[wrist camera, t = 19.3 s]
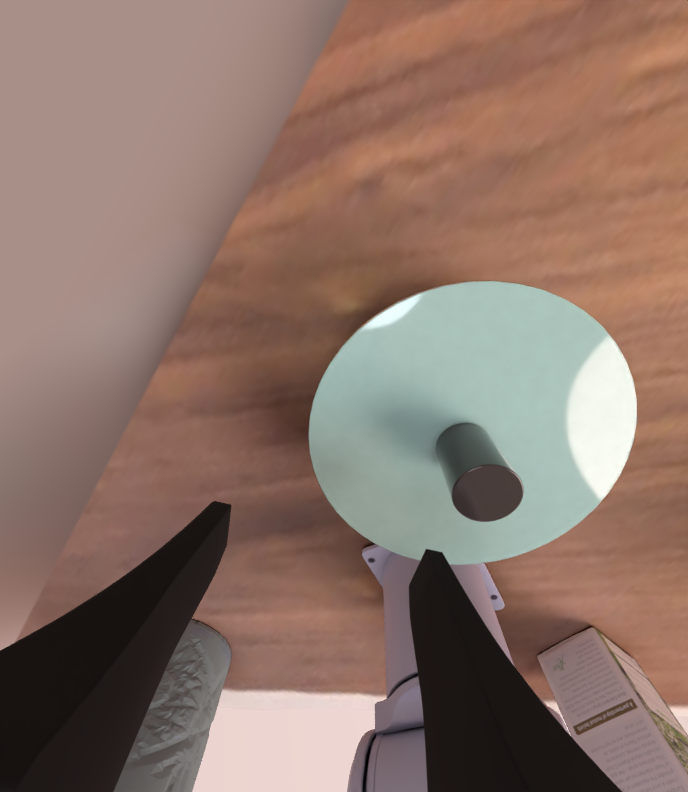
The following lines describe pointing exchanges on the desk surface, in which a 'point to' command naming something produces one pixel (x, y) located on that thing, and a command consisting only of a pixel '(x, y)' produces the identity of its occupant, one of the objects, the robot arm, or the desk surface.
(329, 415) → the lid
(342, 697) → the desk surface
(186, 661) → the drinking glass
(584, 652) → the syrup box
